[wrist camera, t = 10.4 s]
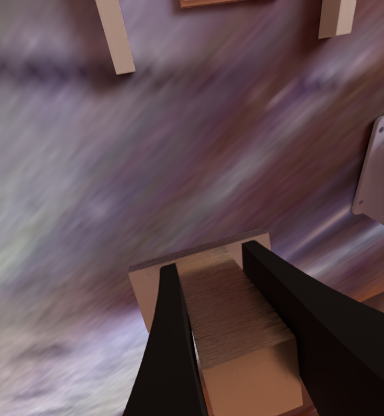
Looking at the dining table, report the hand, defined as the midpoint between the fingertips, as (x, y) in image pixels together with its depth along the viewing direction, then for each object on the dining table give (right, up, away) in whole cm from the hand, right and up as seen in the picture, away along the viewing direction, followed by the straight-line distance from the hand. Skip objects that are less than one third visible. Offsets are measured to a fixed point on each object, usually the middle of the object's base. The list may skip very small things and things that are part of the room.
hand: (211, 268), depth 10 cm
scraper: (0, -1, +3) cm, 4 cm away
